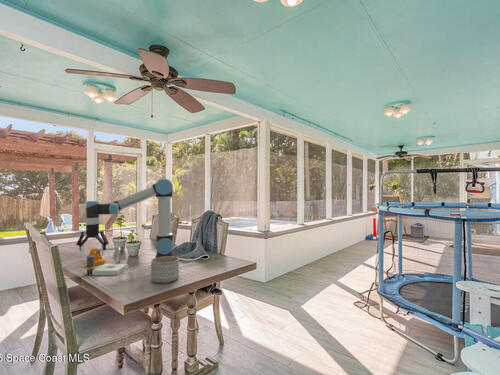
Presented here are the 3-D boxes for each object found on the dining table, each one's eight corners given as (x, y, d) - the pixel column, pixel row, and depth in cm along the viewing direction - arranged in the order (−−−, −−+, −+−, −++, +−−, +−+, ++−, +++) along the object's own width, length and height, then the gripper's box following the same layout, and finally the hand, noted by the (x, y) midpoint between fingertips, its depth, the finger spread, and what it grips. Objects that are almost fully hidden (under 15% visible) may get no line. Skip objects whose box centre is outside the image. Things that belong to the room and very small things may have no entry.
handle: (119, 267, 190) (119, 247, 190) (94, 269, 183) (94, 249, 184) (119, 266, 192) (120, 247, 192) (94, 268, 186) (95, 248, 186)
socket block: (127, 268, 189) (127, 263, 189) (116, 275, 173) (117, 270, 173) (105, 268, 188) (105, 263, 188) (92, 275, 172) (92, 270, 172)
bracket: (90, 266, 192) (91, 250, 192) (86, 265, 196) (86, 248, 196) (105, 263, 200) (106, 247, 201) (101, 262, 205) (101, 246, 205)
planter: (151, 285, 154) (152, 264, 154) (150, 277, 169) (150, 257, 169) (180, 282, 160) (180, 261, 161) (176, 274, 175) (176, 255, 176)
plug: (96, 272, 178) (96, 255, 178) (92, 274, 173) (92, 257, 173) (88, 272, 178) (89, 255, 178) (84, 274, 173) (84, 257, 173)
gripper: (114, 222, 181) (114, 253, 181) (77, 223, 181) (77, 254, 180) (108, 224, 174) (108, 256, 174) (70, 224, 173) (70, 257, 173)
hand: (92, 255), depth 177 cm, fingers open, 13 cm apart
